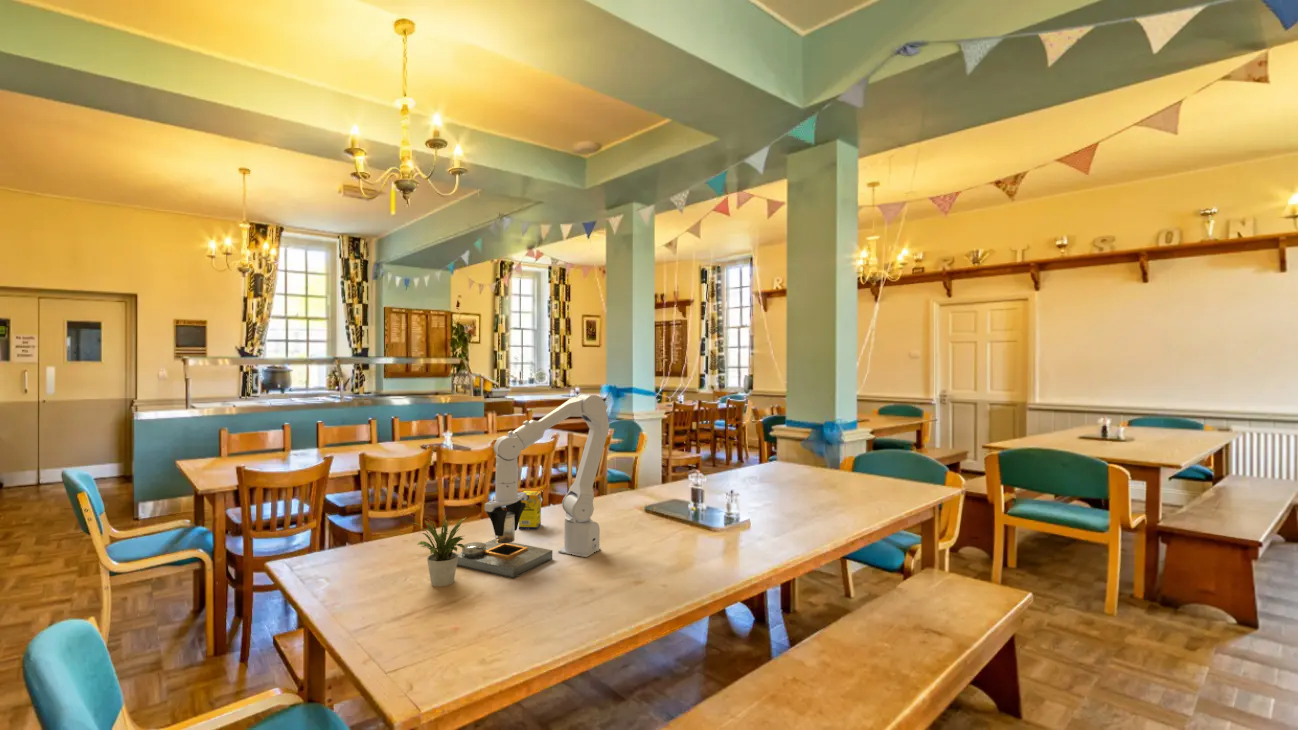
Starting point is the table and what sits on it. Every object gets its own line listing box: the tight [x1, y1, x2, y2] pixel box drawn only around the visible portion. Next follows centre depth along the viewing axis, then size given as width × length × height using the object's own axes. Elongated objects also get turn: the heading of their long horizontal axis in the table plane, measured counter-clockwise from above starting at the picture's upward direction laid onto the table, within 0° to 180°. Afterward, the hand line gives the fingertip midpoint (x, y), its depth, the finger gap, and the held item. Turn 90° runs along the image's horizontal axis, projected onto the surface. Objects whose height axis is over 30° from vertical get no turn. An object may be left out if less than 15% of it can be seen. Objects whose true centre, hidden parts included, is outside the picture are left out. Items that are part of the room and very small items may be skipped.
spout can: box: [494, 506, 516, 543], centre depth 156 cm, size 5×5×9 cm
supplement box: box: [518, 490, 542, 530], centre depth 188 cm, size 6×6×11 cm
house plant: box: [413, 514, 468, 587], centre depth 140 cm, size 14×14×16 cm
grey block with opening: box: [456, 538, 553, 580], centre depth 155 cm, size 20×16×4 cm
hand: (506, 532), depth 156 cm, fingers closed on spout can, 5 cm apart
